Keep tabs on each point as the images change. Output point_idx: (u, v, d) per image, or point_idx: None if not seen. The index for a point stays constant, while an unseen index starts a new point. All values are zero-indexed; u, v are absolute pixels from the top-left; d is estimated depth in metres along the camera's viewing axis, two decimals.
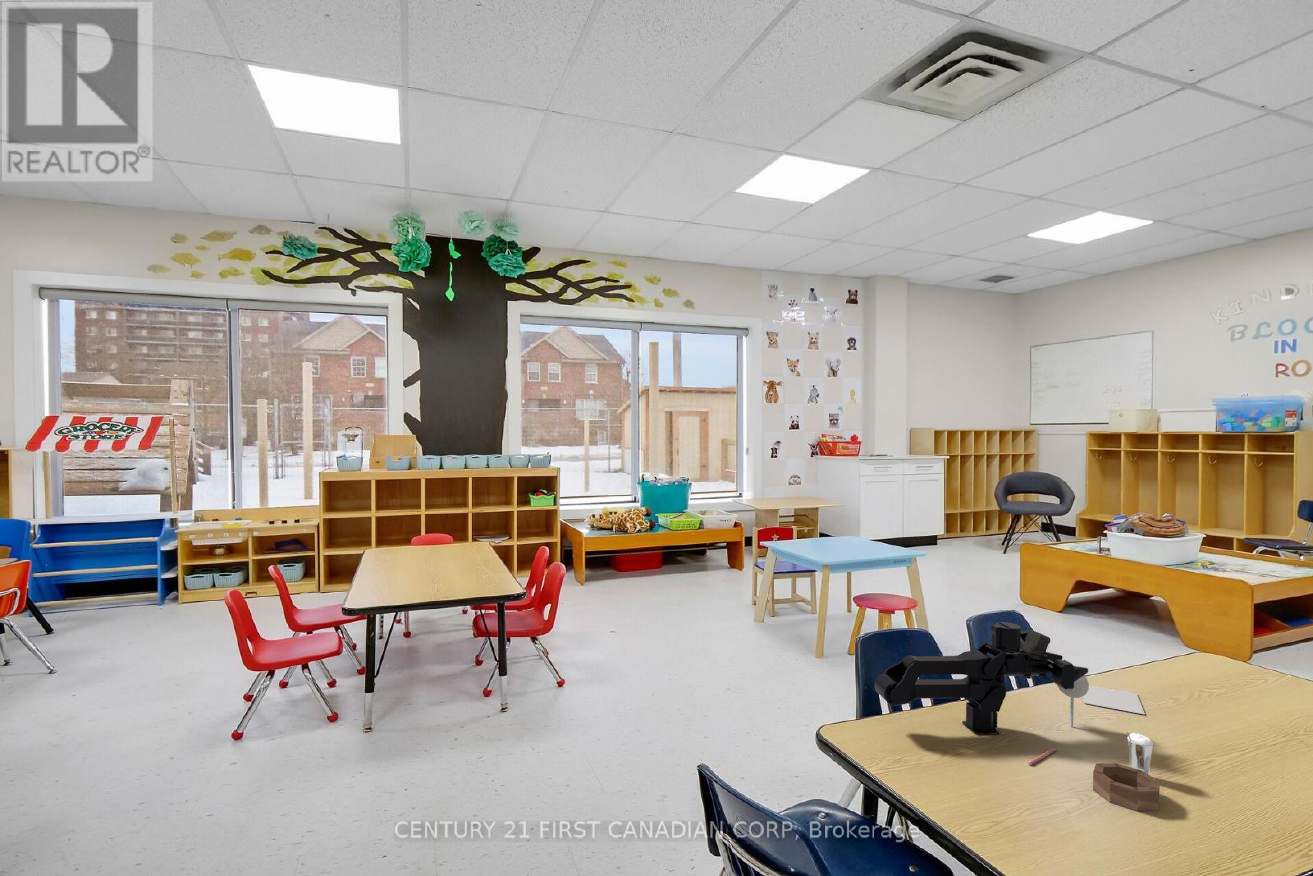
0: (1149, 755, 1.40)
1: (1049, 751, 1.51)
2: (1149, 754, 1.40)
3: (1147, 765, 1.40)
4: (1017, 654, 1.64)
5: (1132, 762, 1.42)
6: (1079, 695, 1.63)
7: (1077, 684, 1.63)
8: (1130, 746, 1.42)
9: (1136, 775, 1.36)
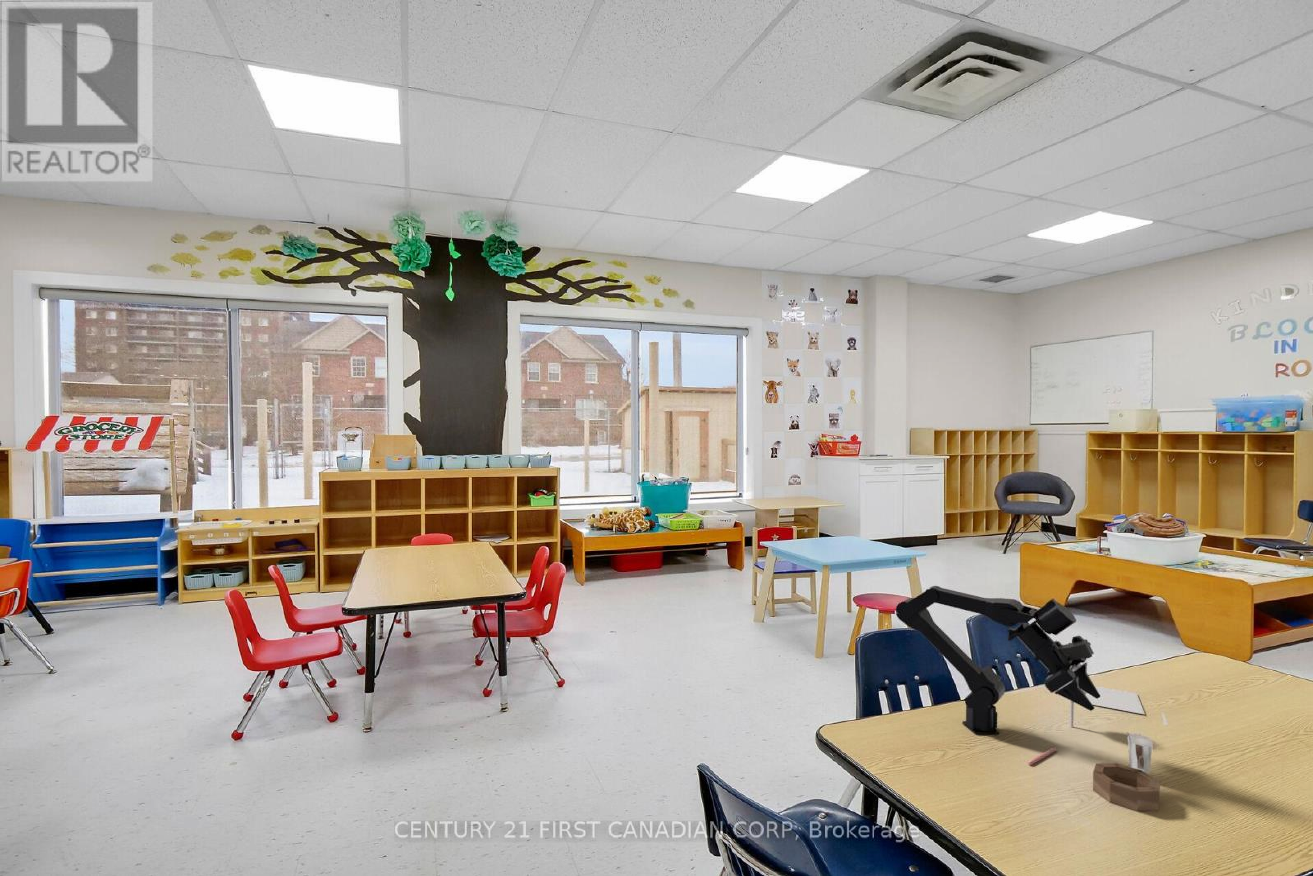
0: (1149, 755, 1.40)
1: (1049, 751, 1.51)
2: (1149, 754, 1.40)
3: (1147, 765, 1.40)
4: (1048, 638, 1.54)
5: (1132, 762, 1.42)
6: None
7: None
8: (1130, 746, 1.42)
9: (1136, 775, 1.36)
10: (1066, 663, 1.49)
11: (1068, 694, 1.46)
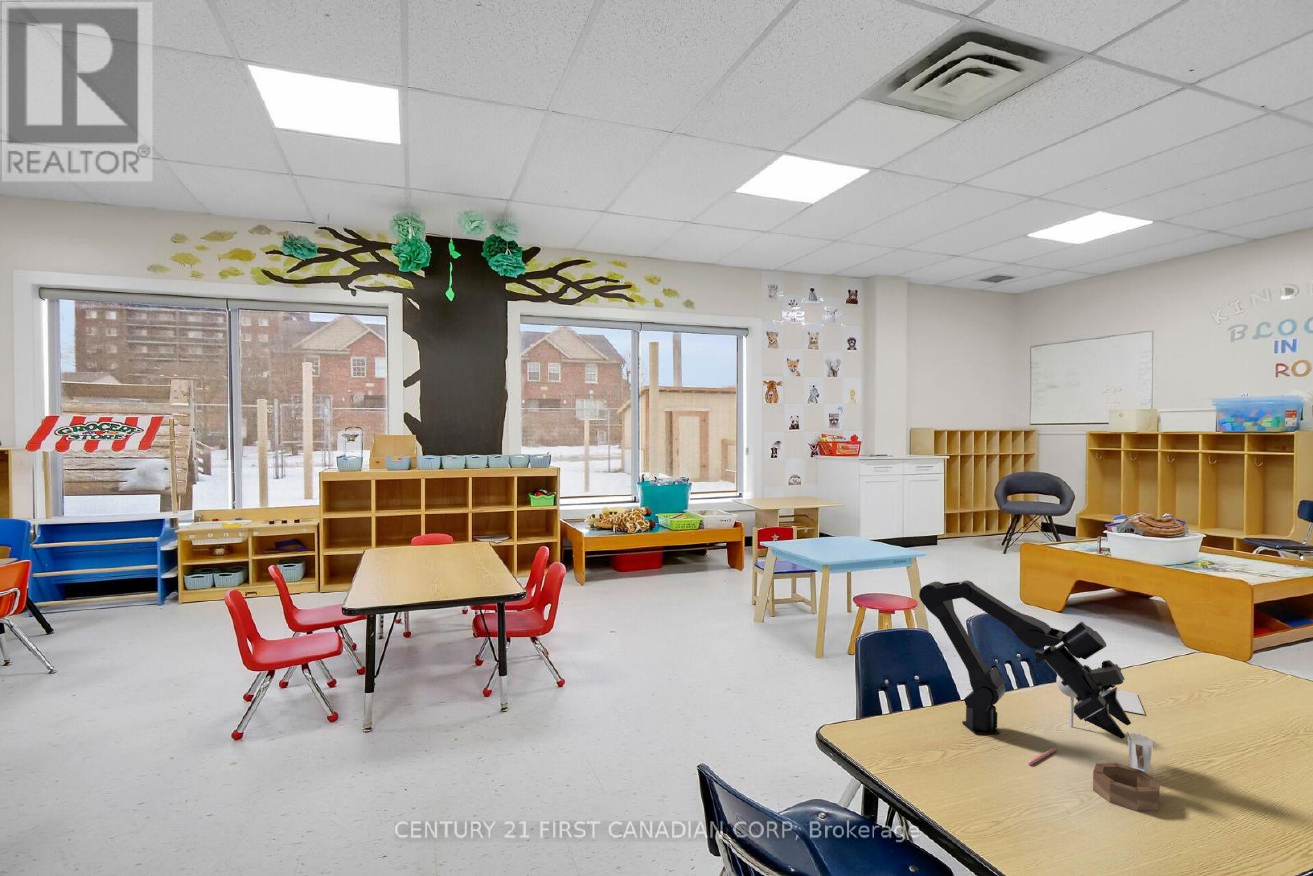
0: (1149, 755, 1.40)
1: (1049, 751, 1.51)
2: (1149, 754, 1.40)
3: (1147, 765, 1.40)
4: (1077, 662, 1.49)
5: (1132, 762, 1.42)
6: None
7: None
8: (1130, 746, 1.42)
9: (1136, 775, 1.36)
10: (1096, 689, 1.45)
11: (1098, 721, 1.42)
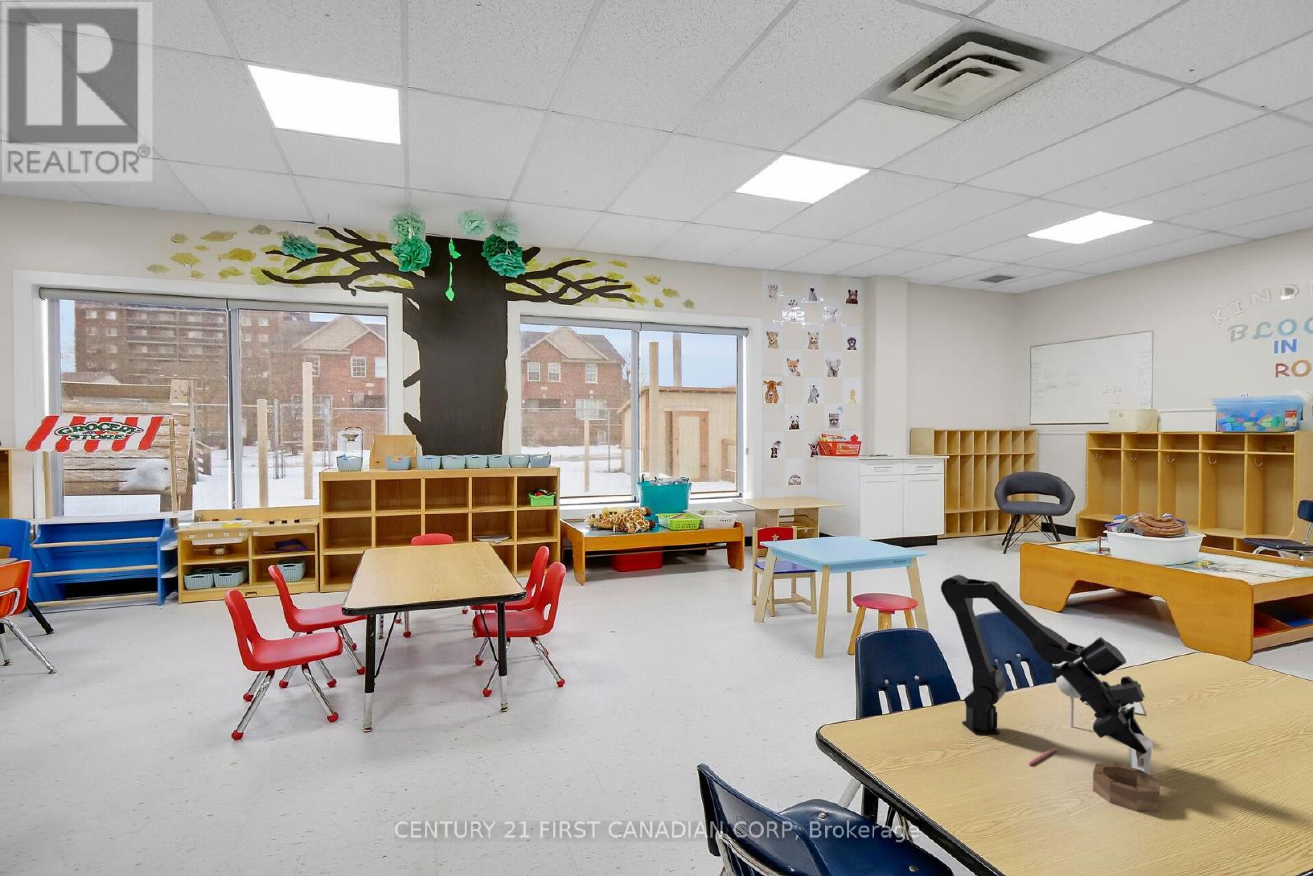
0: (1149, 755, 1.40)
1: (1049, 751, 1.51)
2: (1149, 754, 1.40)
3: (1147, 765, 1.40)
4: (1095, 678, 1.47)
5: (1132, 762, 1.42)
6: (1079, 695, 1.63)
7: None
8: None
9: (1136, 775, 1.36)
10: (1115, 706, 1.42)
11: (1119, 736, 1.41)
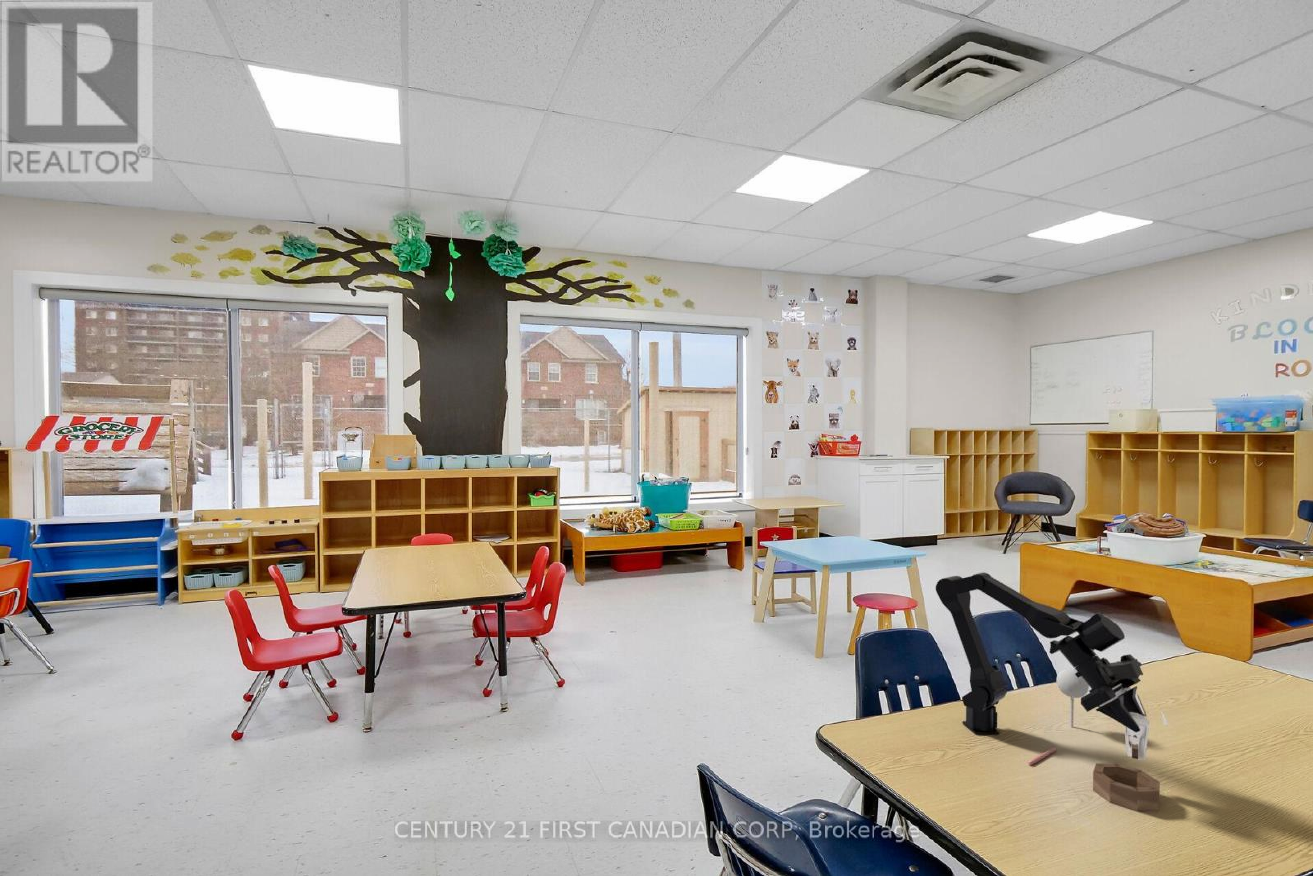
0: (1144, 735, 1.35)
1: (1049, 751, 1.51)
2: (1144, 734, 1.35)
3: (1142, 745, 1.36)
4: (1092, 654, 1.43)
5: (1127, 741, 1.37)
6: (1079, 695, 1.63)
7: (1077, 684, 1.63)
8: None
9: (1136, 775, 1.36)
10: (1109, 682, 1.39)
11: (1111, 712, 1.37)
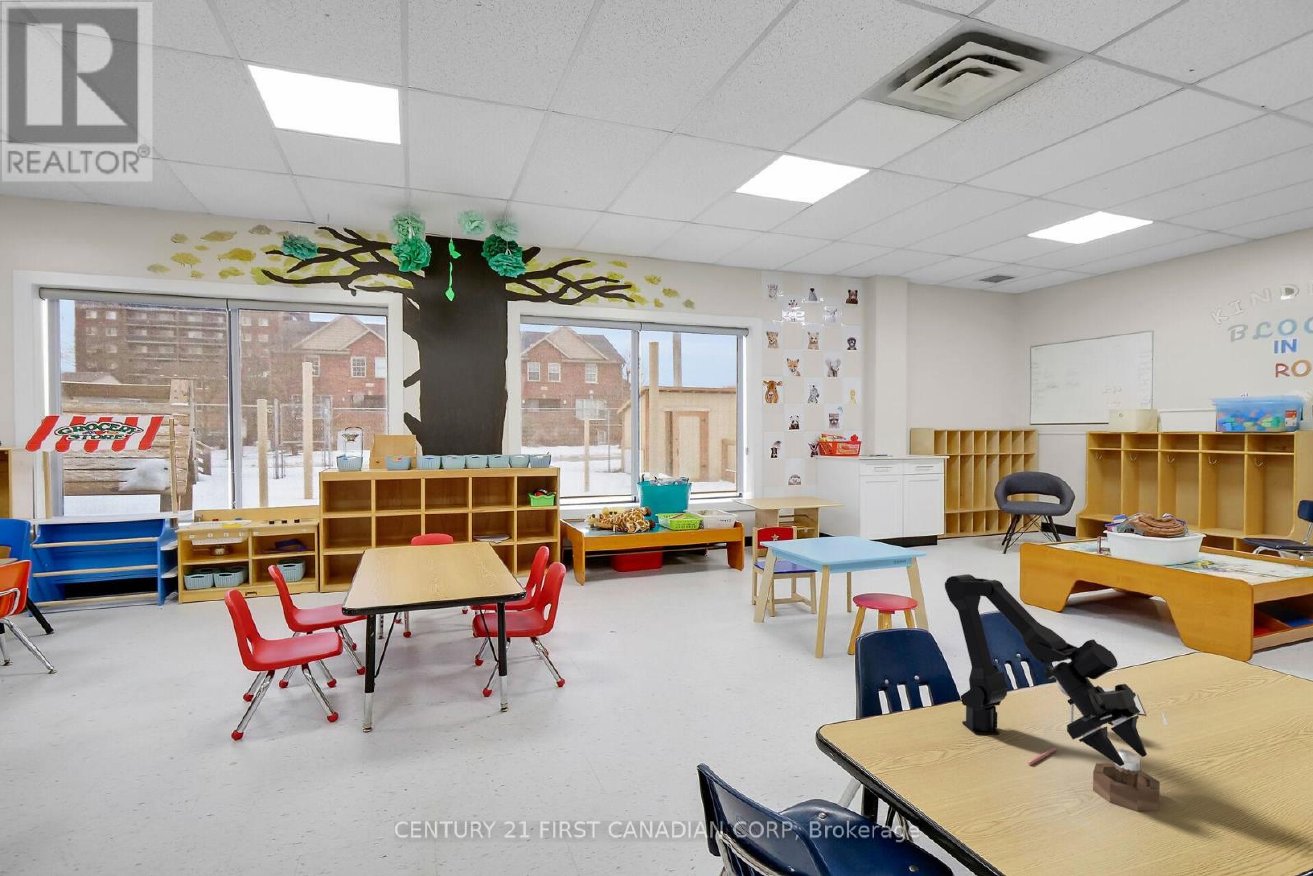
0: (1133, 773, 1.32)
1: (1049, 751, 1.51)
2: (1133, 772, 1.32)
3: (1131, 783, 1.33)
4: (1085, 681, 1.41)
5: (1116, 778, 1.35)
6: None
7: None
8: None
9: None
10: (1099, 711, 1.36)
11: (1095, 744, 1.34)
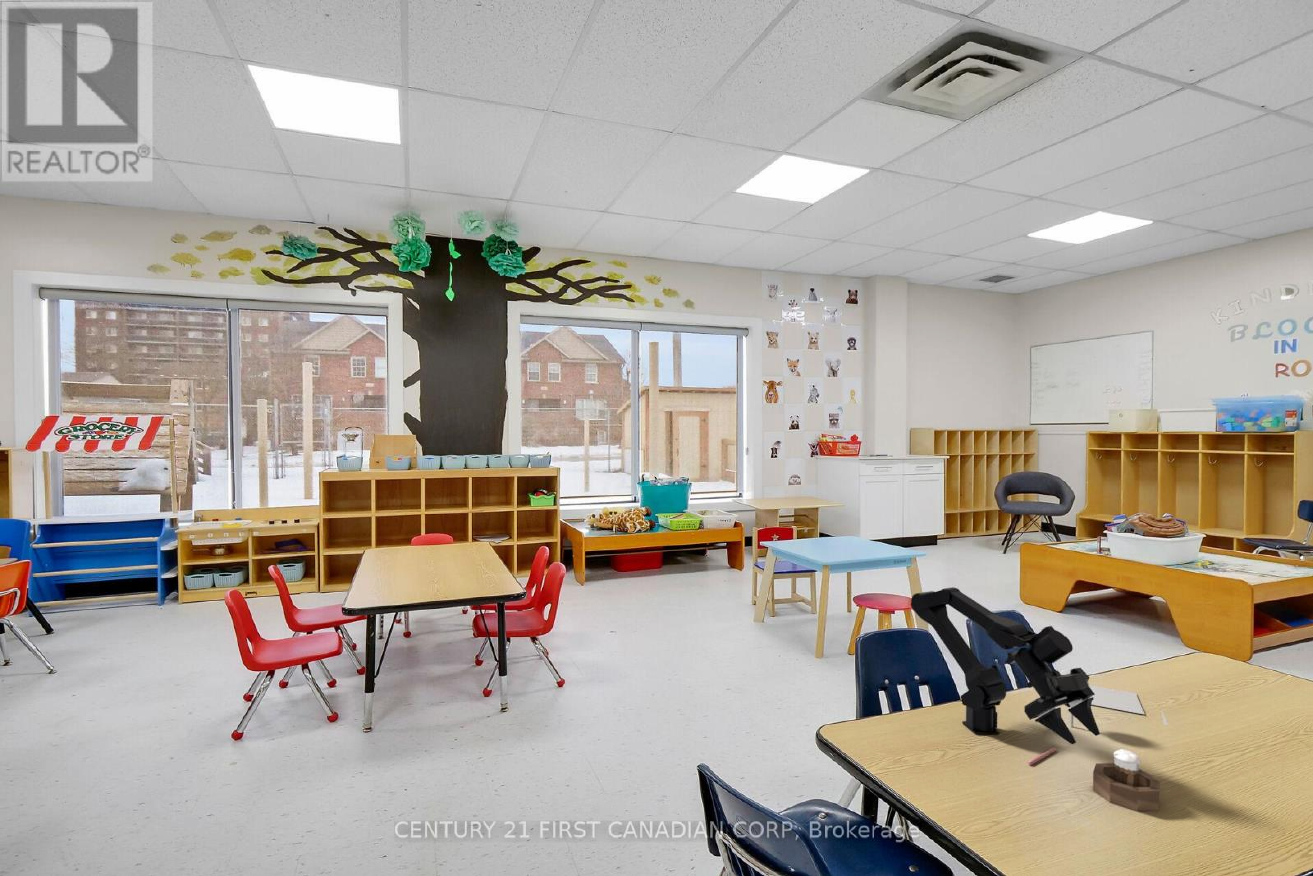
0: (1133, 773, 1.32)
1: (1049, 751, 1.51)
2: (1133, 772, 1.32)
3: (1131, 783, 1.33)
4: (1043, 665, 1.49)
5: (1116, 778, 1.35)
6: None
7: None
8: (1114, 761, 1.35)
9: None
10: (1055, 693, 1.45)
11: (1049, 724, 1.42)
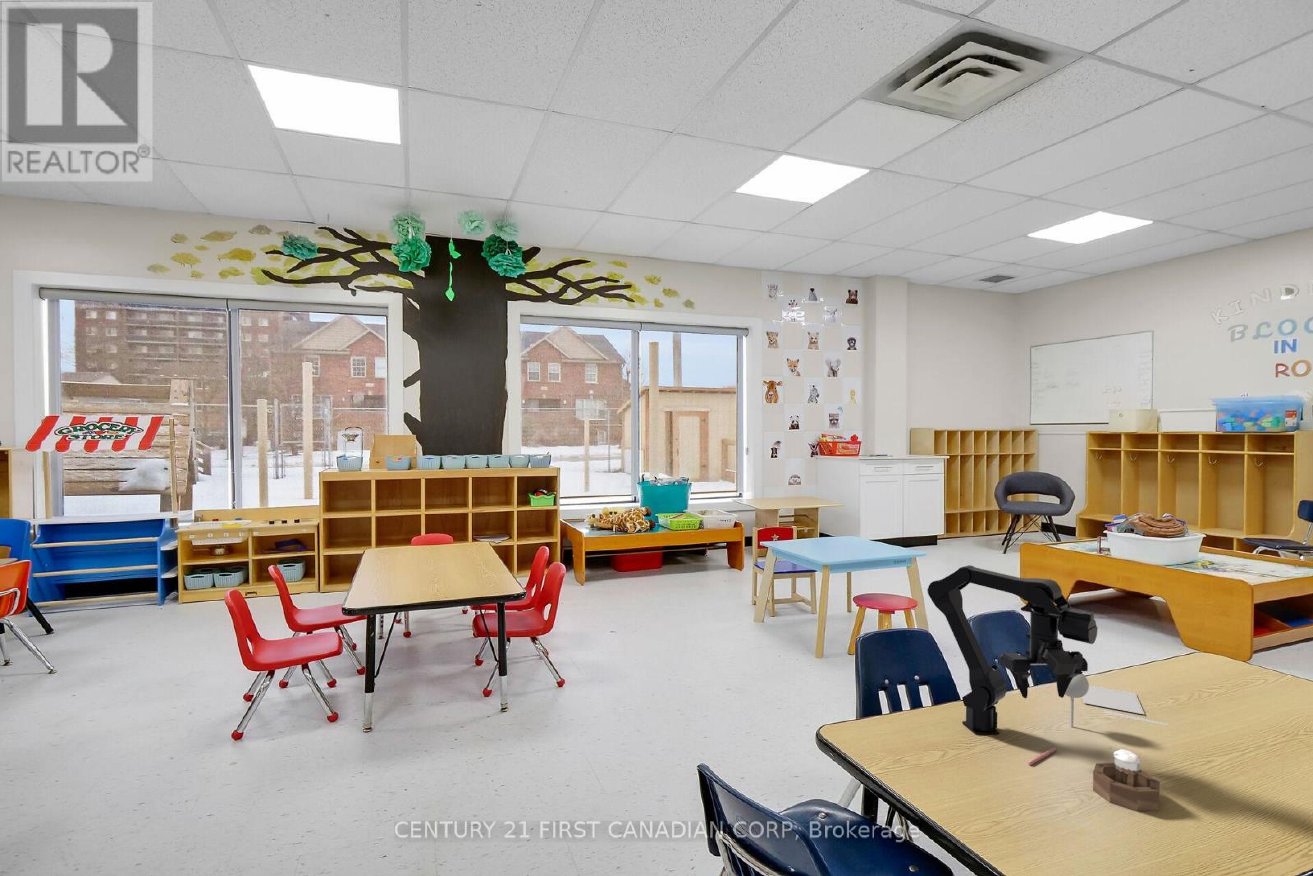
0: (1133, 773, 1.32)
1: (1049, 751, 1.51)
2: (1133, 772, 1.32)
3: (1131, 784, 1.33)
4: (1055, 634, 1.50)
5: (1116, 778, 1.35)
6: (1079, 695, 1.63)
7: (1077, 684, 1.63)
8: (1114, 761, 1.35)
9: None
10: (1039, 659, 1.50)
11: (1015, 675, 1.53)
